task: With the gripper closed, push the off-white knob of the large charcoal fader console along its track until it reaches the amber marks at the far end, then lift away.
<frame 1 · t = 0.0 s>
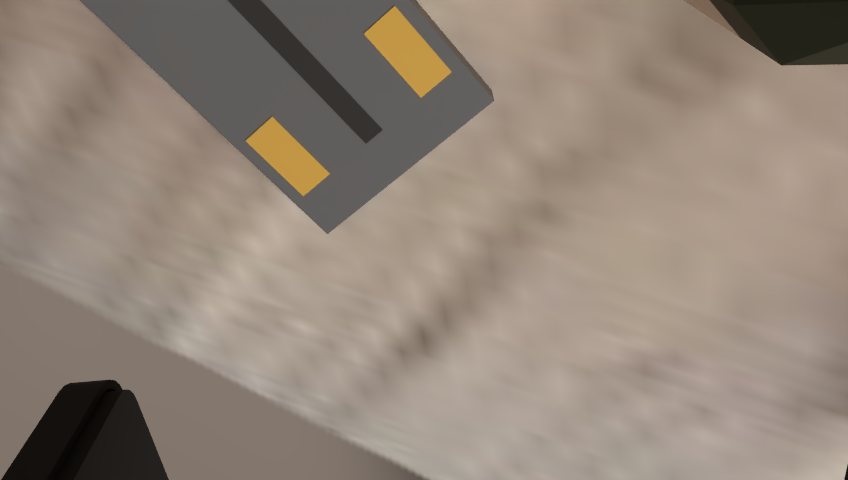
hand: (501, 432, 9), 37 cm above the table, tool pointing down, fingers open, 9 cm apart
fader console: (267, 9, 43), on the table
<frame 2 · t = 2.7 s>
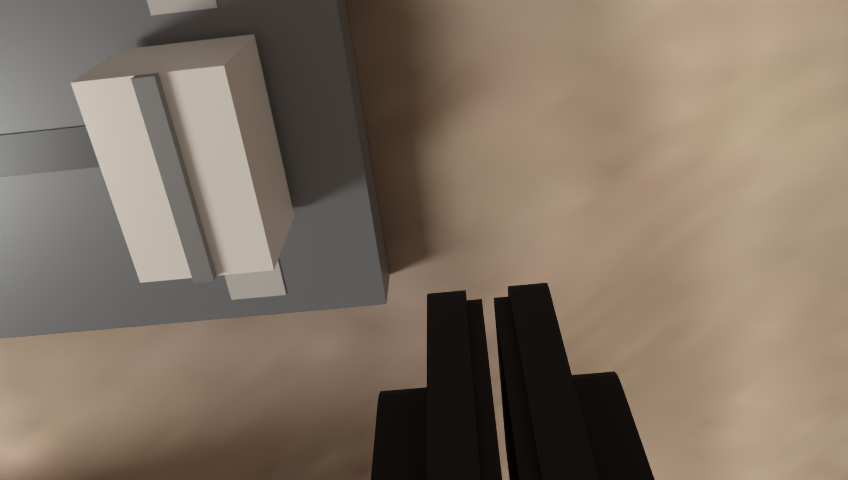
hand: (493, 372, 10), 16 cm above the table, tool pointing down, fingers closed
fader knob: (195, 160, 21), point 4 cm above the table, slide at 0.0 cm
fader console: (8, 137, 26), on the table
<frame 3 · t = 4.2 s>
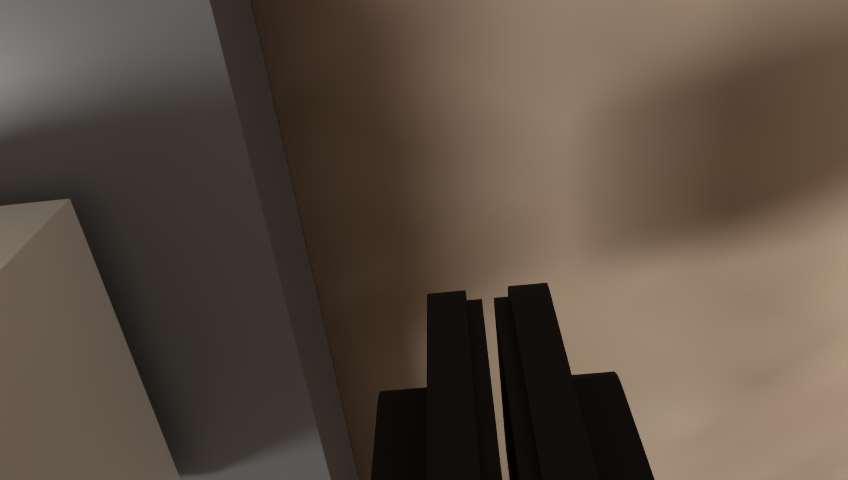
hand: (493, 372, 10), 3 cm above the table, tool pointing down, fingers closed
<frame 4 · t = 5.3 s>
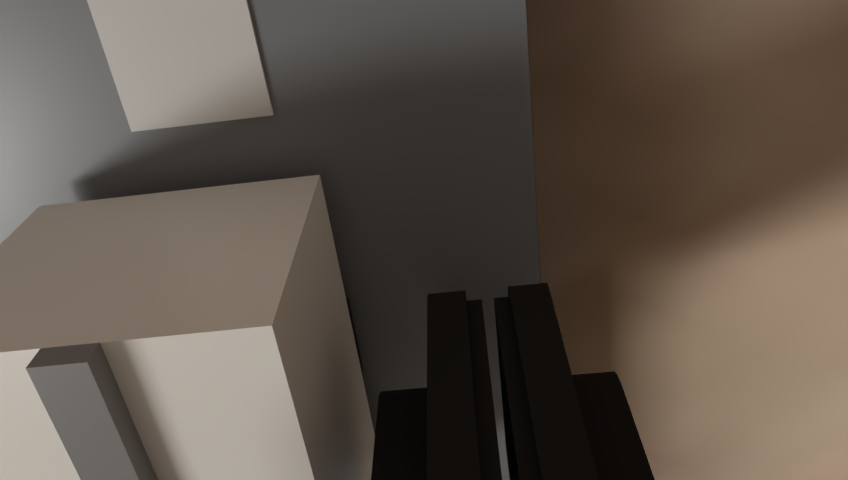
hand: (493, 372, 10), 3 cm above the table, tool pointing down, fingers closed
fader knob: (199, 448, 10), point 4 cm above the table, slide at 0.5 cm, touching gripper
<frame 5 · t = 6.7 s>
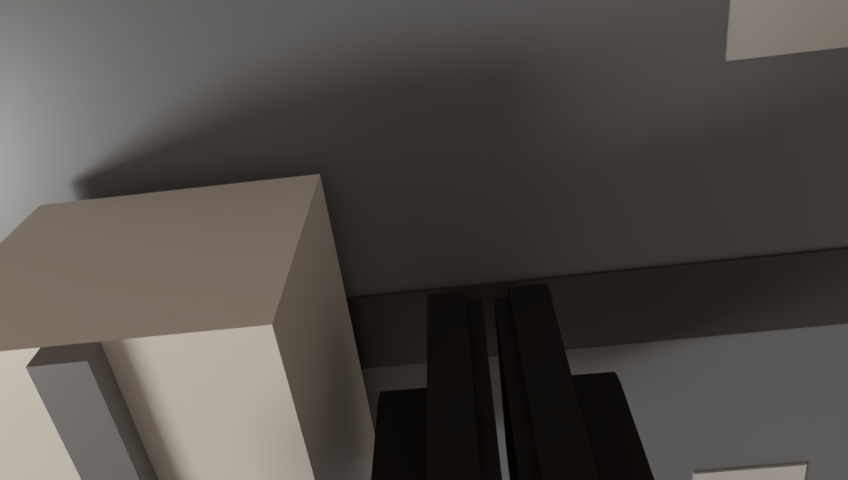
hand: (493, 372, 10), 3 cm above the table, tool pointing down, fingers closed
fader knob: (199, 447, 10), point 4 cm above the table, slide at 8.5 cm, touching gripper
fader console: (289, 275, 14), on the table
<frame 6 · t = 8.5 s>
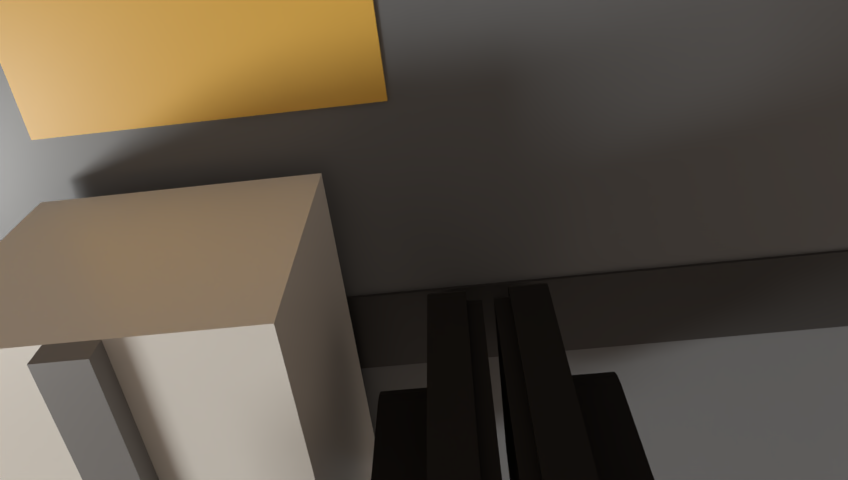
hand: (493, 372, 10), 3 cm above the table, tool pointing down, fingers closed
fader knob: (198, 446, 10), point 4 cm above the table, slide at 15.5 cm, touching gripper
fader console: (668, 238, 13), on the table
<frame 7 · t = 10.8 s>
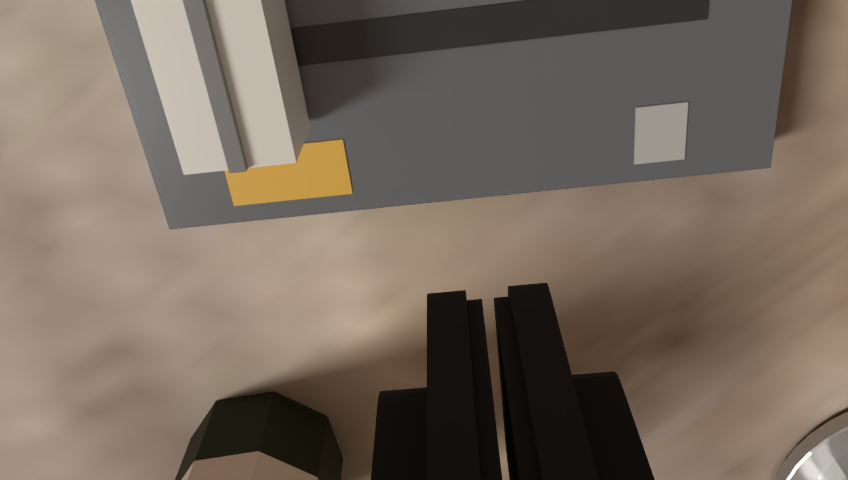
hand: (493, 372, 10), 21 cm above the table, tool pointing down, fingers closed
wine bottle: (268, 446, 40), on the table
fader knob: (229, 71, 25), point 4 cm above the table, slide at 15.6 cm
fader console: (444, 17, 29), on the table
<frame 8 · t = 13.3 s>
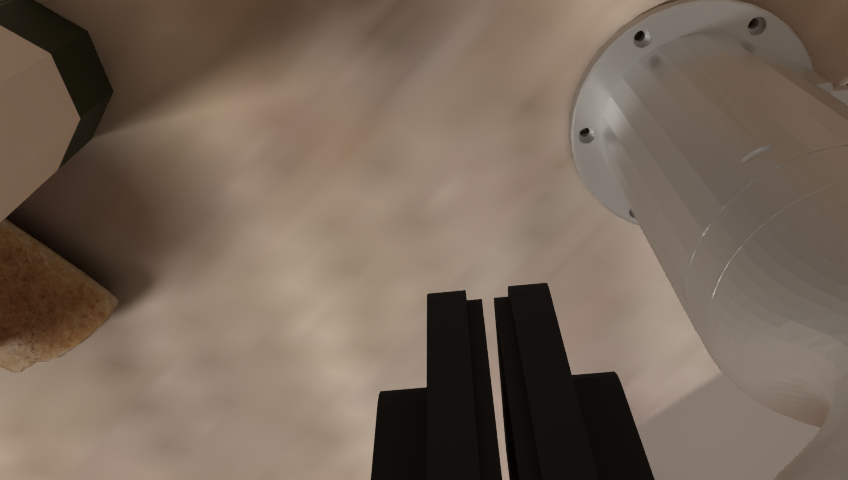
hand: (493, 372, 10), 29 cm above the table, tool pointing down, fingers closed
wine bottle: (33, 75, 38), on the table
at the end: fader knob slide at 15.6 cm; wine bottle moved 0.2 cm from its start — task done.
